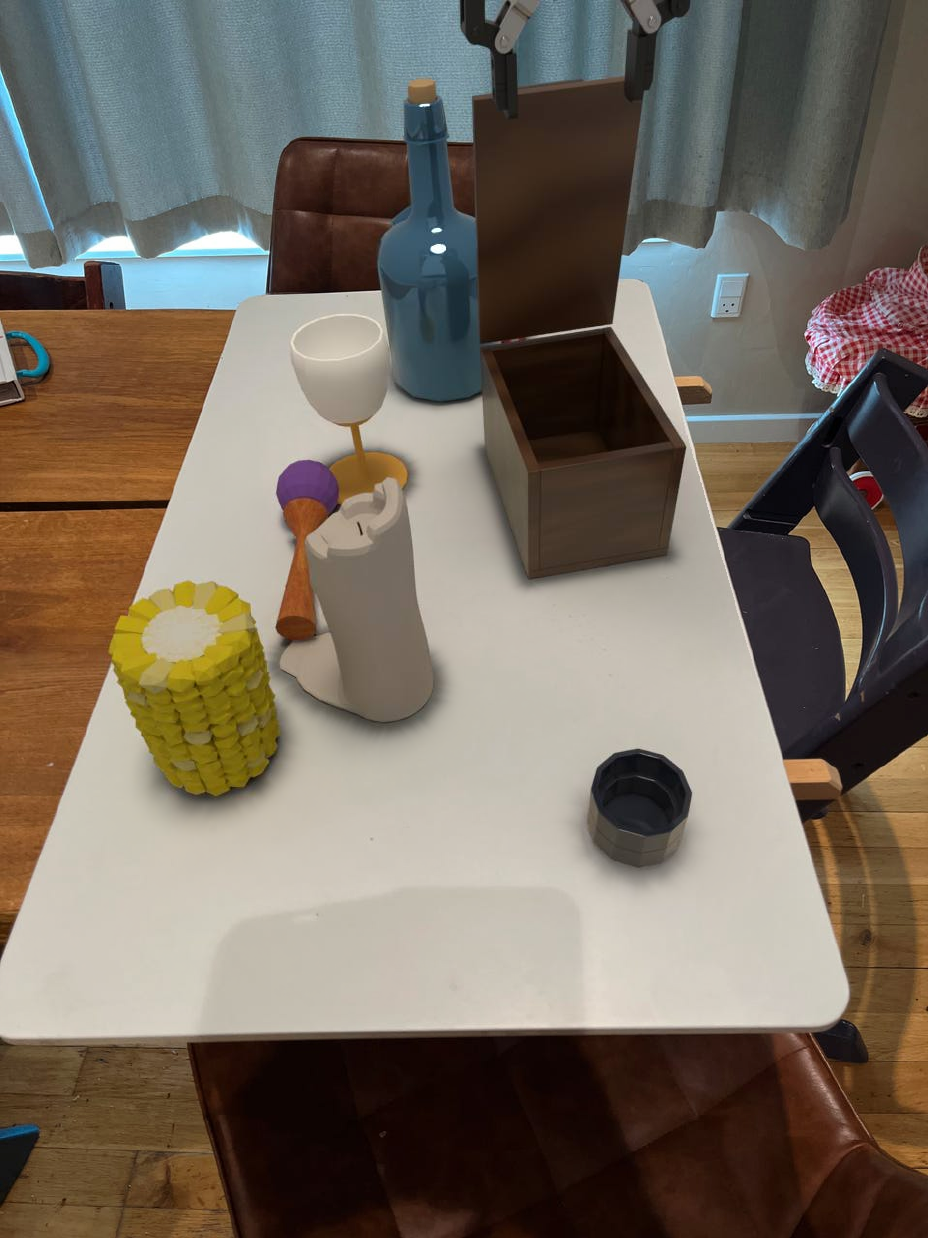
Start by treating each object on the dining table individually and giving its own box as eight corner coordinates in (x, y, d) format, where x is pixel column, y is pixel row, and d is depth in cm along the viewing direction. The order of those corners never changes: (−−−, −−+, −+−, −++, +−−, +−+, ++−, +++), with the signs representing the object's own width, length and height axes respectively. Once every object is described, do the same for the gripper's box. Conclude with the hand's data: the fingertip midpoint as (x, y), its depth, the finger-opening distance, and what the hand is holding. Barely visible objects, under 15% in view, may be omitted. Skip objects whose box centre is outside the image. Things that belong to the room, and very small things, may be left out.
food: (169, 728, 64) (293, 708, 65) (148, 841, 54) (294, 814, 56) (109, 568, 55) (254, 548, 56) (73, 669, 46) (248, 642, 47)
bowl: (661, 779, 56) (670, 741, 53) (693, 860, 52) (706, 825, 48) (577, 796, 56) (581, 759, 52) (603, 878, 52) (609, 844, 48)
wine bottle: (521, 387, 91) (517, 85, 69) (414, 417, 88) (375, 114, 66) (474, 335, 100) (458, 52, 78) (376, 361, 97) (330, 76, 75)
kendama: (246, 614, 64) (268, 455, 76) (277, 655, 68) (294, 499, 81) (315, 598, 63) (326, 440, 75) (342, 641, 67) (348, 485, 80)
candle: (307, 619, 69) (245, 426, 54) (448, 666, 64) (424, 470, 50) (260, 679, 65) (179, 489, 50) (407, 734, 60) (367, 542, 45)
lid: (646, 77, 58) (624, 48, 61) (473, 99, 57) (460, 69, 60) (612, 324, 75) (597, 292, 78) (480, 344, 74) (469, 311, 77)
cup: (425, 470, 82) (408, 326, 70) (369, 519, 77) (340, 373, 65) (360, 444, 86) (333, 302, 74) (303, 489, 81) (264, 346, 69)
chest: (667, 555, 71) (686, 446, 62) (528, 579, 70) (528, 472, 62) (602, 430, 85) (611, 326, 76) (484, 449, 84) (479, 346, 75)
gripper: (455, -232, 38) (478, 139, 50) (738, -266, 39) (693, 109, 51) (436, -232, 43) (460, 106, 55) (686, -262, 44) (656, 78, 56)
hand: (572, 107), depth 53 cm, fingers open, 8 cm apart
